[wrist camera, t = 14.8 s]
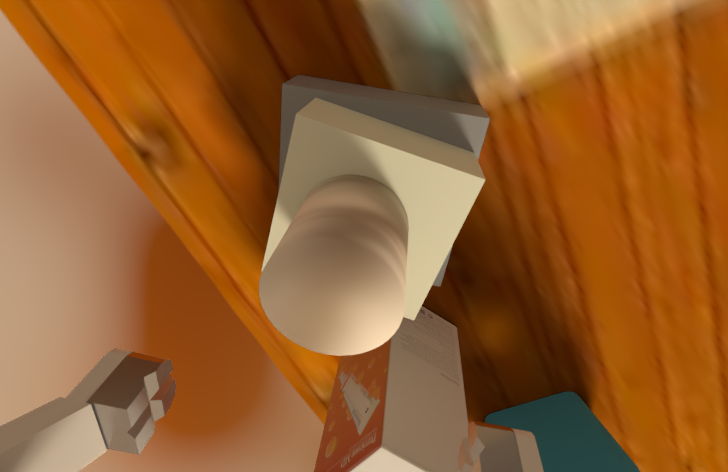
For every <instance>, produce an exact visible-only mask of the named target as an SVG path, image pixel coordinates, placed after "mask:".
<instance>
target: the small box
mask: <svg viewBox="0 0 728 472" xmlns="http://www.w3.org/2000/svg"><path fill="white" fill-rule="evenodd" d="M468 427H469V425H468V417H467V408H466V400H465V392H464V383H463V374H462V366H461V357H460V349H459V340H458V331H457V327H456V326H454V325H452V324H451V323H449V322H448V321H446V320H444V319H443V318H441V317H440V316H438V315H436V314H434V313H433V312H431V311H430V310H428V309H426V308H425V307H423V306H421V308H420V310H419V312H418V314H417V316H416V318H415V320H411V319H408V318H405V317H403V319H402V322H401V324H400V326H399V328H398V329H397V331H396V332H395V334H394V335H393V336H392V337H391V338H390V339H389V340H388V341H386V342H385V343H384V344H382V345H381V346H379V347H377V348H375V349H373V350H370V351H368V352H364V353H361V354H355V355H346V356H341V357H340V362H339V366H338V370H337V374H336V379H335V383H334V388H333V392H332V396H331V401H330V405H329V409H328V413H327V418H326V422H325V426H324V431H323V436H322V440H321V444H320V448H319V452H318V457H317V461H316V466H315V469H314V472H459V469H458V459H459V451H460V446H461V443H462V441H463V439H464V438H466V437H468Z"/></svg>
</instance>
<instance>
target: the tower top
mask: <svg viewBox="0 0 728 472" xmlns="http://www.w3.org/2000/svg"><path fill="white" fill-rule="evenodd" d="M341 175H360V176H365V177H369V178H372V179H374V180H376V181H378V182H380V183H382V184H384V185H385V186H387V187H388V188H389V189H390V190H392V191H393V192H394V193H395V194H396V196H397V197H398V198H399V199H400V201H401V202H402V204H403V206H404V208H405V210H406V213H407V217H408V224H409V231H408V252H407V272H406V292H405V309H404V316H403V317H405V318H408V319H411V320H415V318H416V316H417V314H418V312H419V310H420V308H421V306H422V304H423V302H424V300H425V298H426V296H427V294H428V292H429V290H430V288H431V286H432V284H433V282H434V280H435V278H436V276H437V274H438V273H439V271H440V269H441V267H442V265H443V263H444V261H445V259H446V257H447V255H448V253H449V251H450V249H451V247H452V245H453V243H454V241H455V239H456V237H457V235H458V233H459V231H460V229H461V227H462V225H463V223H464V221H465V219H466V217H467V215H468V213H469V212H470V210H471V208H472V206H473V204H474V202H475V200H476V198H477V196H478V194H479V192H480V190H481V188H482V186H483V184H484V182H485V180H486V179H485V177H484V175H483V172H482V170H481V167H480V165H479V162H478V160H477V157H476V155H475V153H474V152H471V151H468V150H465V149H462V148H459V147H456V146H454V145H451V144H448V143H445V142H442V141H439V140H436V139H434V138H431V137H428V136H425V135H422V134H419V133H416V132H414V131H411V130H408V129H405V128H402V127H399V126H396V125H393V124H391V123H388V122H385V121H382V120H379V119H376V118H373V117H371V116H368V115H365V114H362V113H359V112H356V111H353V110H350V109H348V108H345V107H342V106H339V105H336V104H333V103H330V102H328V101H325V100H322V99H319V98H315V99H313V100H312V101H311V102H310V103H309V104H307V105H306V106H305V107H304V108H303V109H301V110H300V111H299V112H298V113H297V114H296V116H295V121H294V125H293V130H292V134H291V139H290V143H289V148H288V152H287V157H286V161H285V166H284V171H283V175H282V180H281V184H280V189H279V193H278V198H277V202H276V207H275V211H274V216H273V220H272V225H271V230H270V234H269V239H268V243H267V248H266V252H265V257H264V261H263V266H262V270H261V271H263V269H264V267H265V266H266V264H267V262H268V261H269V259H270V257H271V256H272V254H273V252H274V251H275V249H276V247H277V246H278V244H279V242H280V241H281V239H282V237H283V236H284V234H285V232H286V231H287V229H288V227H289V226H290V224H291V222H292V221H293V219H294V217H295V216H296V214H297V212H298V211H299V209H300V207H301V205H302V204H303V202H304V200H305V199H306V197H307V196H308V194H309V193H310V192H311V191H312V189H314V188H315V187H316V186H317V185H318V184H320V183H321V182H323V181H325V180H327V179H329V178H332V177H336V176H341Z"/></svg>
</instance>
